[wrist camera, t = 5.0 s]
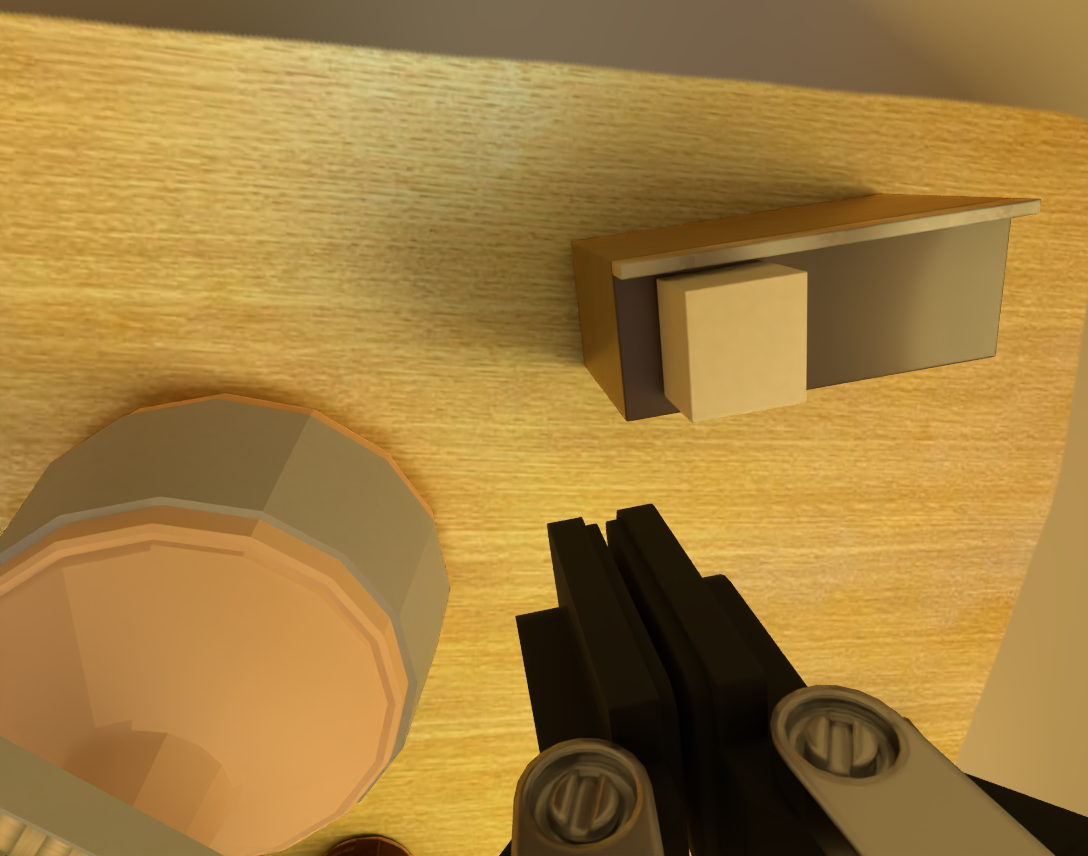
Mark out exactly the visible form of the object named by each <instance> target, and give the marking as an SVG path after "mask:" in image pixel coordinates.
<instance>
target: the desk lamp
mask: <svg viewBox="0 0 1088 856" xmlns="http://www.w3.org/2000/svg"><path fill="white" fill-rule="evenodd" d="M449 592H450V585H449V581H448V577H447V571H446V567H445V562H444V558H443V554H442V550H441V545H440V541H439V537H438V533H437V528H436V524H435V520H434V516H433V511H432V509H431V508H430V507H429V505H428V504H427V503H426V502H425V500H424V499H423V498H422V496H421V495H420V494H419V493H418V491H417V490H416V489H415V487H414V486H413V485H412V484H411V482H410V481H409V480H408V478H407V477H406V476H405V475H404V473H403V472H402V471H401V469H400V468H399V467H398V465H397V464H396V463H395V462H394V460H393V459H392V458H391V456H390V455H389V454H388V453H387V451H385V450H383V449H382V448H380V447H378V446H377V445H375V444H373V443H371V442H370V441H368V440H366V439H365V438H363V437H361V436H359V435H358V434H356V433H354V432H353V431H351V430H349V429H348V428H346V427H344V426H342V425H341V424H339V423H337V422H336V421H334V420H332V419H330V418H329V417H327V416H325V415H324V414H322V413H320V412H318V411H317V410H315V409H312V408H306V407H301V406H295V405H289V404H284V403H278V402H273V401H267V400H262V399H256V398H251V397H245V396H240V395H234V394H229V393H223V394H217V395H212V396H206V397H201V398H195V399H189V400H184V401H178V402H173V403H167V404H162V405H156V406H150V407H145V408H139V409H137V410H135V411H134V412H132V413H131V414H128V415H123V416H122V417H120V418H119V419H117V420H116V421H114V422H113V423H111V424H110V425H108V426H106V427H105V428H103V429H102V430H100V431H99V432H97V433H96V434H94V435H93V436H91V437H90V438H88V439H86V440H85V441H83V442H82V443H80V444H79V445H77V446H76V447H74V448H73V449H71V450H70V451H68V452H67V453H65V454H63V455H62V456H60V457H59V458H57V459H56V460H54V461H53V462H51V463H50V464H49V466H48V467H47V469H46V470H45V472H44V473H43V475H42V476H41V478H40V479H39V481H38V482H37V484H36V485H35V487H34V488H33V490H32V491H31V493H30V494H29V496H28V497H27V499H26V500H25V502H24V503H23V504H22V506H21V507H20V509H19V510H18V512H17V513H16V515H15V516H14V518H13V519H12V521H11V522H10V524H9V525H8V527H7V528H6V530H5V531H4V533H3V534H2V536H1V537H0V856H260V855H265V854H269V853H273V852H278V851H282V850H286V849H288V848H290V847H291V846H293V845H295V844H296V843H298V842H300V841H301V840H303V839H305V838H307V837H308V836H310V835H312V834H313V833H315V832H317V831H319V830H320V829H322V828H324V827H325V826H327V825H329V824H331V823H332V822H334V821H336V820H337V819H339V818H341V817H342V816H344V815H346V814H348V813H349V811H350V810H351V809H352V808H353V806H354V805H355V804H356V803H358V802H360V801H361V800H362V799H363V797H364V796H365V795H366V794H367V792H368V791H369V790H370V789H371V787H372V786H373V785H374V784H375V782H376V781H377V780H378V778H379V777H380V776H381V775H382V773H383V772H384V771H385V770H386V768H387V767H388V766H389V765H390V763H391V762H392V761H393V760H394V758H395V757H396V756H397V755H398V753H399V752H400V751H401V750H402V748H403V746H404V744H405V741H406V738H407V735H408V732H409V729H410V726H411V723H412V720H413V717H414V714H415V711H416V708H417V705H418V702H419V699H420V696H421V693H422V690H423V687H424V684H425V682H426V679H427V676H428V673H429V670H430V667H431V664H432V661H433V658H434V655H435V652H436V648H437V643H438V639H439V635H440V631H441V626H442V622H443V618H444V613H445V609H446V605H447V601H448V596H449Z"/></svg>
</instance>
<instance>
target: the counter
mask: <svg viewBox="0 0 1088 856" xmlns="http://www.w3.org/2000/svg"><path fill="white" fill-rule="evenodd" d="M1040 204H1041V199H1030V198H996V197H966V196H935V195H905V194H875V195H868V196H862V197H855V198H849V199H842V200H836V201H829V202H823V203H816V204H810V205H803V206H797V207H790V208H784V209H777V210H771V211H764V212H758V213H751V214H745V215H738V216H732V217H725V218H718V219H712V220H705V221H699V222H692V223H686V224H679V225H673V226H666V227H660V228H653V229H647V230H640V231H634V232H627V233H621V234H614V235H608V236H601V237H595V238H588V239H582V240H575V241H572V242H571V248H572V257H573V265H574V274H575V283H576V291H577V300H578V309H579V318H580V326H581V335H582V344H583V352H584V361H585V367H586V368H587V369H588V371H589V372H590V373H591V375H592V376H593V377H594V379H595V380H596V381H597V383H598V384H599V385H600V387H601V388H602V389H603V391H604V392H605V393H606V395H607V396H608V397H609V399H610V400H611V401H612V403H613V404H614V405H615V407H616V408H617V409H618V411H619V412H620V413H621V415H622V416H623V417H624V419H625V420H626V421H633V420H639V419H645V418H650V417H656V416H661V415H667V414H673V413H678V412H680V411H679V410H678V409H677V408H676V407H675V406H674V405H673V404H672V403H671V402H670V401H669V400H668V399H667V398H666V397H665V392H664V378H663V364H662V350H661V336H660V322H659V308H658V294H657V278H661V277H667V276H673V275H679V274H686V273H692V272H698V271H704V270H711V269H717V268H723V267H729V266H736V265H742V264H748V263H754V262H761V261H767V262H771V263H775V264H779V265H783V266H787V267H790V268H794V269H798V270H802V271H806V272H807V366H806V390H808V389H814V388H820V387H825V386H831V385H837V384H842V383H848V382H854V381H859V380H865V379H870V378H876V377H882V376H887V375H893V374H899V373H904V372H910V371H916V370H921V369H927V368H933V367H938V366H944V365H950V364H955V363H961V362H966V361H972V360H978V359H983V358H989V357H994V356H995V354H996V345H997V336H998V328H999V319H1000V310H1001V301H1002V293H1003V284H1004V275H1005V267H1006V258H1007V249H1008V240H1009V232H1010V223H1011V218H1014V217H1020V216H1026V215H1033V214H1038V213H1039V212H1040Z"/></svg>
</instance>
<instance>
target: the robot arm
mask: <svg viewBox="0 0 1088 856" xmlns="http://www.w3.org/2000/svg"><path fill="white" fill-rule="evenodd" d="M616 518H617V520H611V521H607V522H606V534H607V543H608V546H607V544H606V542H605V540H604V538H603V536H602V533H601V531H600V529H599V527H598V525H597V524H591V525H585V523H584V521H583V519H582V517H579V518H574V519H569V520H563V521H558V522H553V523H548V524H547V529H548V537H549V543H550V550H551V557H552V563H553V570H554V577H555V583H556V590H557V597H558V603H559V607H557V608H553V609H548V610H543V611H538V612H533V613H528V614H523V615H518V616H516V622H517V628H518V633H519V639H520V644H521V650H522V656H523V661H524V667H525V672H526V678H527V683H528V689H529V695H530V700H531V706H532V711H533V717H534V723H535V728H536V734H537V739H538V745H539V750H540V754H539V755H538V756H537V757H536V758H535V759H533V760H532V761H531V762H530V763H529V764H528V765H527V767H526V769H525V770H524V772H523V774H522V775H521V777H520V779H519V780H518V783H517V787H516V792H515V796H514V805H513V825H512V840H511V841H510V842H509V844H508V845H507V846H506V848H505V849H504V850H503V851H502V853H501V854H500V855H499V856H689V850H690V852H691V855H692V856H1088V817H1086V816H1083V815H1080V814H1077V813H1075V812H1071V811H1069V810H1066V809H1064V808H1061V807H1058V806H1055V805H1052V804H1050V803H1047V802H1044V801H1041V800H1038V799H1036V798H1033V797H1030V796H1027V795H1025V794H1022V793H1019V792H1016V791H1013V790H1011V789H1008V788H1005V787H1002V786H1000V785H997V784H994V783H991V782H988V781H985V780H983V779H980V778H977V777H975V776H972V775H969V774H966V773H963V772H962V771H961V770H960V769H959V768H958V767H957V766H956V765H954V764H953V763H952V762H951V761H950V760H949V759H948V758H947V757H946V756H945V755H943V754H942V753H941V752H940V751H939V750H938V749H937V748H936V747H935V746H933V745H932V744H931V743H930V742H929V741H928V740H927V739H926V738H925V737H924V736H922V735H921V734H920V733H919V732H918V731H917V730H916V729H915V728H914V727H912V726H911V725H910V724H909V723H908V722H907V721H906V720H905V719H904V718H902V717H901V716H900V715H899V714H898V713H897V712H896V711H894V710H893V709H892V708H890V707H889V706H887V705H886V704H885V703H883V702H882V701H880V700H879V699H877V698H875V697H872V696H870V695H868V694H866V693H863V692H861V691H859V690H855V689H850V688H846V687H842V686H837V685H815V686H810V687H807V685H806V684H805V683H804V681H803V680H802V679H801V677H800V676H799V675H798V673H797V672H796V670H795V669H794V668H793V666H792V665H791V664H790V662H789V661H788V660H787V658H786V657H785V655H784V654H783V653H782V651H781V650H780V649H779V647H778V646H777V644H776V643H775V642H774V640H773V639H772V638H771V636H770V635H769V634H768V632H767V631H766V629H765V628H764V627H763V625H762V624H761V623H760V621H759V620H758V619H757V617H756V616H755V614H754V613H753V612H752V610H751V609H750V608H749V606H748V605H747V604H746V602H745V601H744V599H743V598H742V597H741V595H740V594H739V593H738V591H737V590H736V589H735V587H734V586H733V584H732V583H731V582H730V580H729V579H728V578H727V577H726V576H725V575H721V574H719V575H714V576H709V577H704V578H702V577H701V575H700V574H699V572H698V571H697V569H696V568H695V566H694V565H693V563H692V562H691V560H690V559H689V557H688V556H687V554H686V553H685V551H684V550H683V548H682V547H681V545H680V544H679V542H678V541H677V539H676V538H675V536H674V535H673V533H672V532H671V530H670V529H669V527H668V526H667V524H666V523H665V521H664V520H663V518H662V517H661V515H660V514H659V512H658V511H657V509H656V508H655V506H654V505H653V504H646V505H641V506H636V507H631V508H626V509H620V510H617V517H616Z"/></svg>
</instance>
